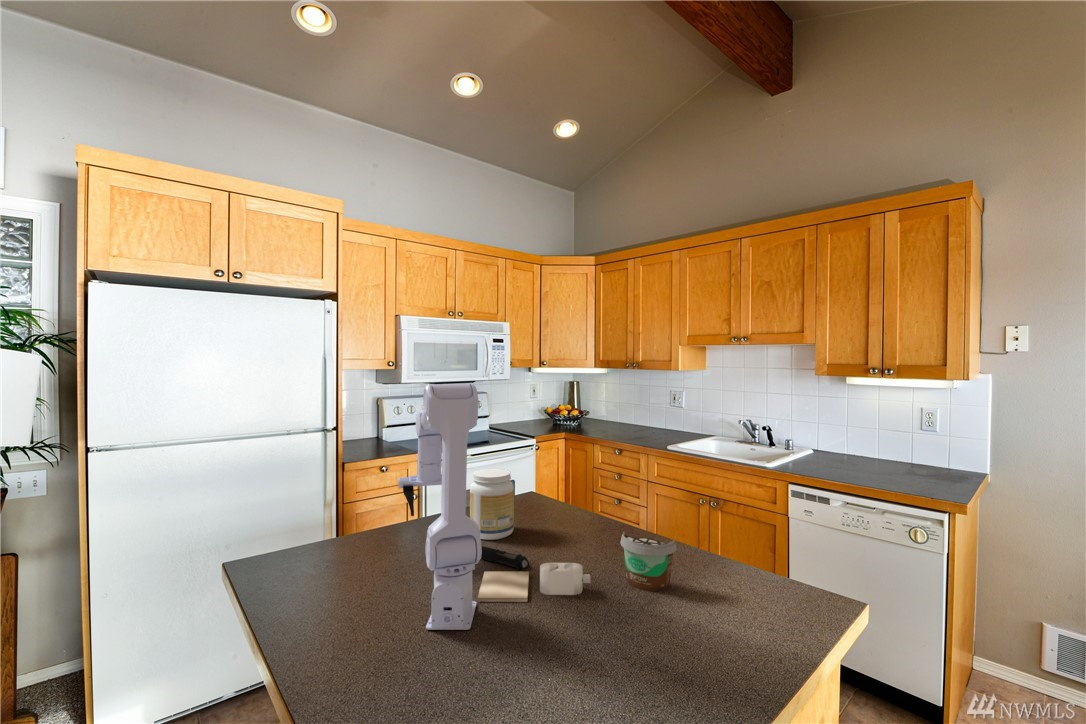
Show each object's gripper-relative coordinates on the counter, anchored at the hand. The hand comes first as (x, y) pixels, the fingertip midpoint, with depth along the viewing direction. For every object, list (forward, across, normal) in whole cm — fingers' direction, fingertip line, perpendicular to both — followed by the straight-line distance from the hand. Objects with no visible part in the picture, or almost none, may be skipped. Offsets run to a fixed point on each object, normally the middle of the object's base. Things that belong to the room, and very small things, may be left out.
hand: (428, 513), depth 121 cm
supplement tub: (+12, -18, -9) cm, 23 cm away
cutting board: (+7, -14, +23) cm, 28 cm away
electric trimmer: (+9, -16, +11) cm, 22 cm away
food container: (+6, -43, +31) cm, 54 cm away
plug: (+6, -26, +28) cm, 38 cm away
